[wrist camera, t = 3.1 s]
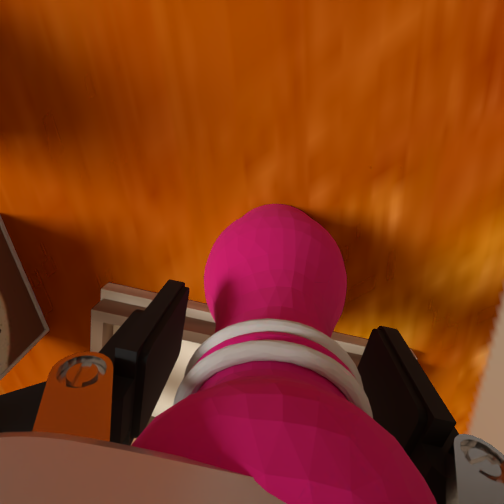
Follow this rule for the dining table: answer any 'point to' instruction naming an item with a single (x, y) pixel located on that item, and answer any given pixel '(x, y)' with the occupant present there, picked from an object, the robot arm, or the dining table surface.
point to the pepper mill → (282, 375)
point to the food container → (16, 308)
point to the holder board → (194, 334)
